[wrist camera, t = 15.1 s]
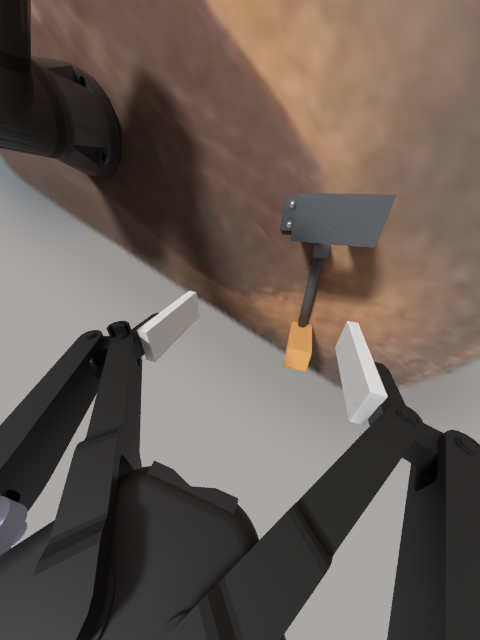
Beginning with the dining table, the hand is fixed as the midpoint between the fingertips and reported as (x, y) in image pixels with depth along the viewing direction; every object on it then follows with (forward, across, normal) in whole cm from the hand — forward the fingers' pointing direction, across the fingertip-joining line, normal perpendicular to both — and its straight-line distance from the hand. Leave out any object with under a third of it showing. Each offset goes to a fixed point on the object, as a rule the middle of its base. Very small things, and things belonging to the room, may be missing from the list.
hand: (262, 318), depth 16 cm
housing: (+24, +6, +7) cm, 26 cm away
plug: (+24, +6, -9) cm, 26 cm away
